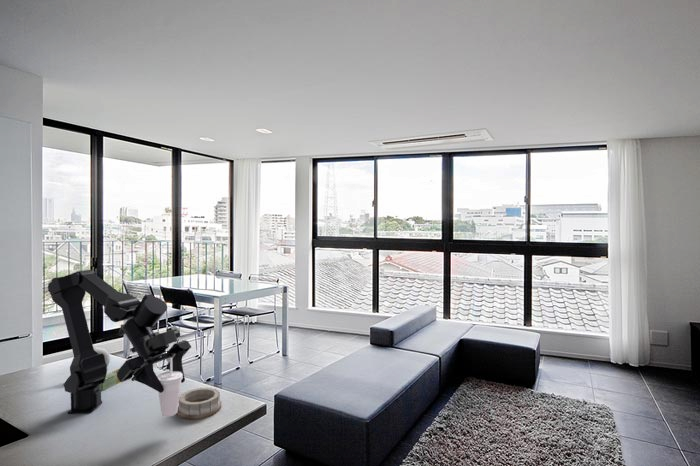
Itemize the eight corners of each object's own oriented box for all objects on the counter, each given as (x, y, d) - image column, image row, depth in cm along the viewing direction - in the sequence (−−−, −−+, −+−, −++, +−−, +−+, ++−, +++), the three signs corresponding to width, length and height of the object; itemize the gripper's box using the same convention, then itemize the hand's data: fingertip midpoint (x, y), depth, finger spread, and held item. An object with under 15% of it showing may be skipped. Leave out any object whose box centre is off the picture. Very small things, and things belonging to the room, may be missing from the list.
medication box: (101, 392, 126) (101, 380, 126) (94, 391, 127) (94, 379, 127) (130, 378, 138) (130, 366, 138) (124, 377, 139) (124, 365, 139)
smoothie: (188, 411, 102) (188, 357, 102) (165, 421, 97) (164, 365, 97) (173, 404, 106) (173, 352, 105) (150, 414, 101) (149, 360, 100)
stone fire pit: (171, 420, 108) (170, 406, 108) (184, 400, 120) (184, 387, 120) (216, 418, 110) (216, 404, 110) (225, 398, 122) (224, 386, 122)
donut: (79, 381, 134) (78, 352, 134) (75, 379, 136) (75, 350, 136) (111, 373, 142) (111, 345, 141) (108, 370, 144) (107, 343, 144)
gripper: (124, 327, 94) (158, 382, 90) (186, 311, 111) (217, 356, 107) (102, 355, 97) (134, 409, 93) (165, 335, 114) (194, 380, 110)
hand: (173, 386), depth 101 cm, fingers closed on smoothie, 6 cm apart
